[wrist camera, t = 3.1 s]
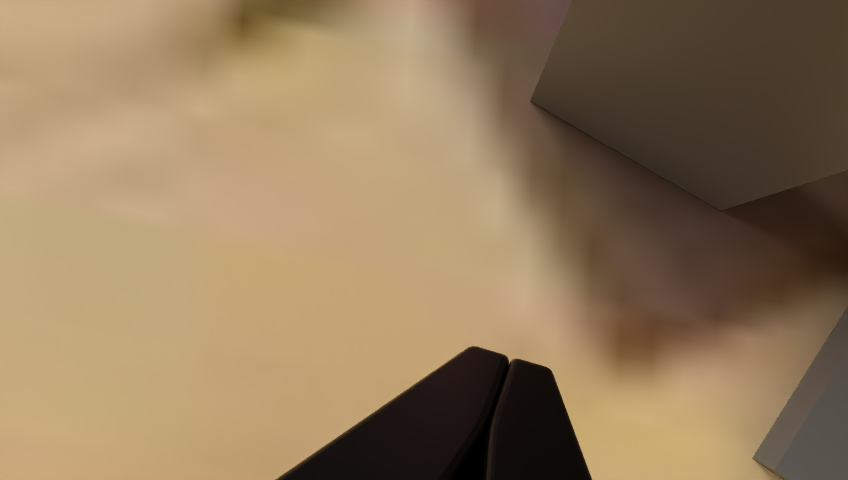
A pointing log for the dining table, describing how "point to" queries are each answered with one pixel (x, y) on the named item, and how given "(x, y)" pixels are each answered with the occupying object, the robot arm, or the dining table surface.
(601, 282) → the dining table surface
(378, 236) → the dining table surface
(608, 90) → the tile
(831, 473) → the tile
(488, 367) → the robot arm
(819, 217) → the dining table surface
